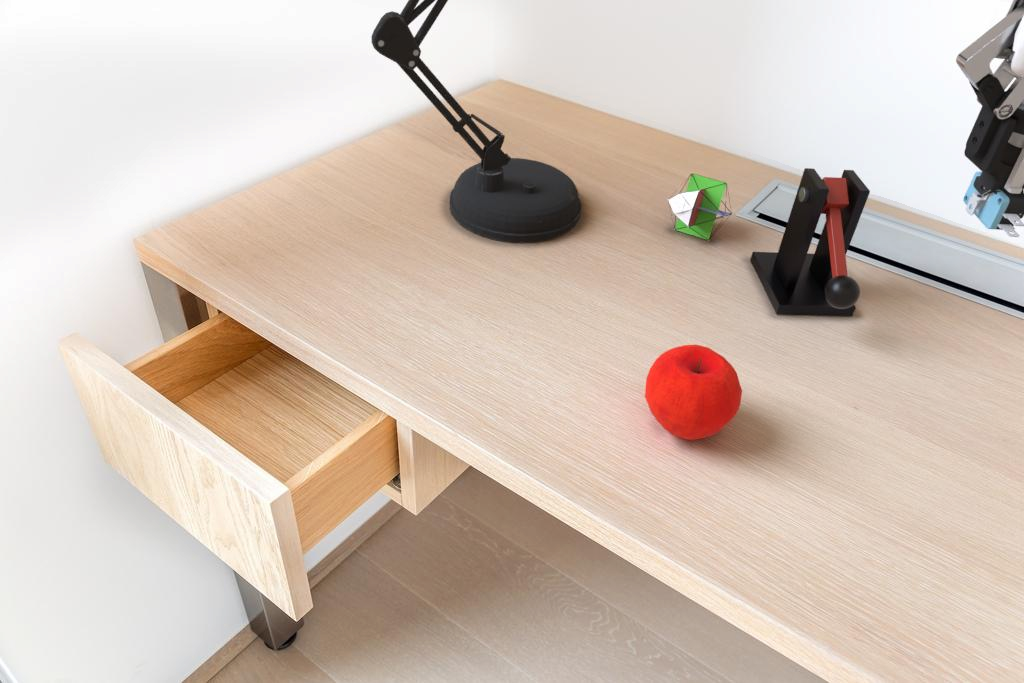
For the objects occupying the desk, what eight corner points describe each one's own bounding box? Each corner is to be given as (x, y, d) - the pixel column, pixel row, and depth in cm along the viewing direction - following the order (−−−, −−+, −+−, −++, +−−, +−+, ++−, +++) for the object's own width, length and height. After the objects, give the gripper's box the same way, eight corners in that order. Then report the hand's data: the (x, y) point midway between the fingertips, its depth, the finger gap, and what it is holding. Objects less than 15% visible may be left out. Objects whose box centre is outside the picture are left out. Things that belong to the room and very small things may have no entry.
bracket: (852, 316, 82) (898, 206, 74) (776, 314, 81) (813, 203, 73) (819, 262, 89) (857, 157, 81) (749, 260, 89) (781, 154, 81)
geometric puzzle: (684, 188, 97) (681, 154, 89) (739, 204, 94) (741, 170, 87) (662, 239, 95) (657, 209, 88) (717, 257, 93) (717, 227, 86)
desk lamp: (648, 185, 101) (731, -255, 73) (586, 290, 82) (667, -251, 54) (473, 144, 107) (487, -277, 79) (378, 233, 88) (352, -280, 60)
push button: (1045, 244, 59) (1115, 116, 53) (974, 241, 59) (1036, 112, 53) (1003, 200, 64) (1063, 78, 58) (938, 197, 64) (990, 75, 58)
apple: (628, 392, 70) (642, 326, 66) (715, 391, 71) (735, 326, 67) (646, 459, 64) (663, 392, 60) (741, 458, 65) (765, 391, 60)
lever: (851, 313, 77) (868, 303, 74) (819, 312, 77) (835, 302, 74) (837, 190, 80) (853, 175, 77) (806, 189, 80) (821, 174, 77)
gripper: (1240, -121, 51) (1095, 144, 62) (983, -133, 49) (883, 139, 61) (1341, -96, 45) (1160, 191, 56) (1053, -110, 44) (928, 187, 55)
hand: (1017, 162), depth 58 cm, fingers closed on push button, 5 cm apart
